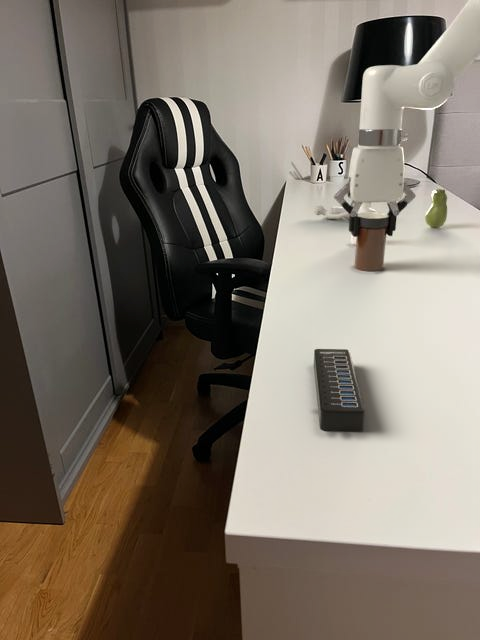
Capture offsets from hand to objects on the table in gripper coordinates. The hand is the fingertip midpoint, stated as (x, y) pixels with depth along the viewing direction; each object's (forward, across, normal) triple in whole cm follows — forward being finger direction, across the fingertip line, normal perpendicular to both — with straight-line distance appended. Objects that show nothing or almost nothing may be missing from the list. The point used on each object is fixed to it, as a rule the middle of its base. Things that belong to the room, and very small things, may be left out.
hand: (371, 234), depth 100 cm
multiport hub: (+7, +15, +49) cm, 52 cm away
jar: (+7, 0, 0) cm, 7 cm away
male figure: (+7, -6, -47) cm, 48 cm away
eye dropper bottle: (+7, -3, -19) cm, 21 cm away
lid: (-3, 0, 0) cm, 3 cm away
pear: (+7, -26, -35) cm, 44 cm away
